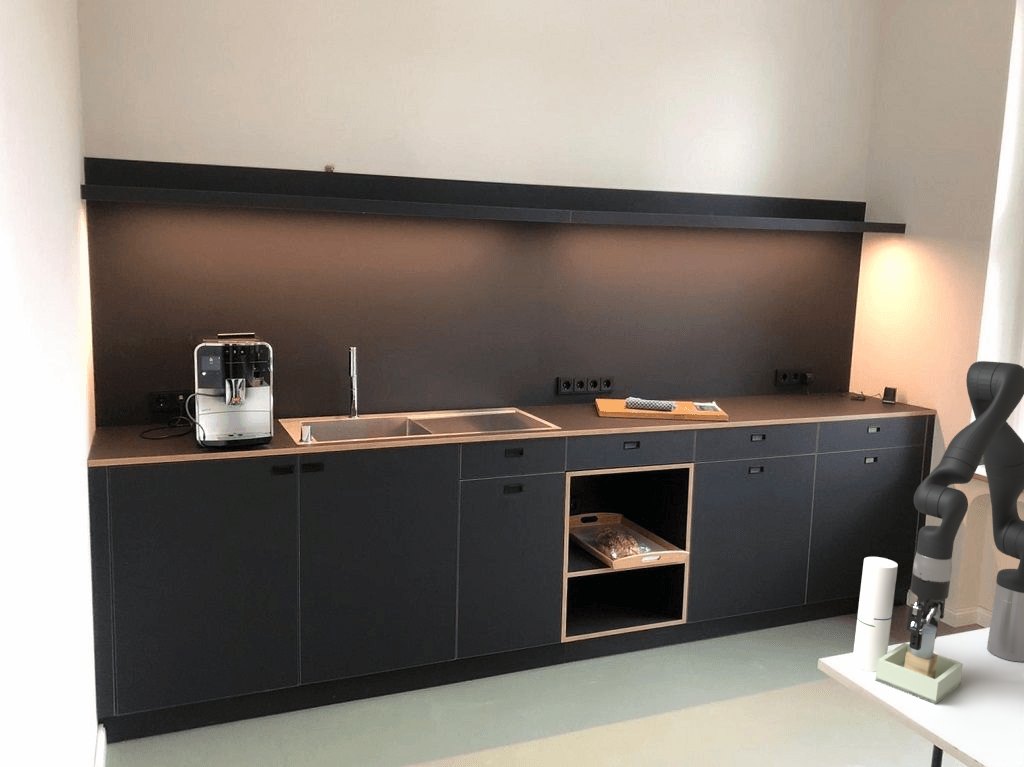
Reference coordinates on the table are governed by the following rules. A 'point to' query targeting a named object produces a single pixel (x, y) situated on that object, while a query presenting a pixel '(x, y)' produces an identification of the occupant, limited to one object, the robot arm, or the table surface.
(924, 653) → the ceramic jar
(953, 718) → the table surface
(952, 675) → the crate
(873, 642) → the cylindrical container
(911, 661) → the oak block
